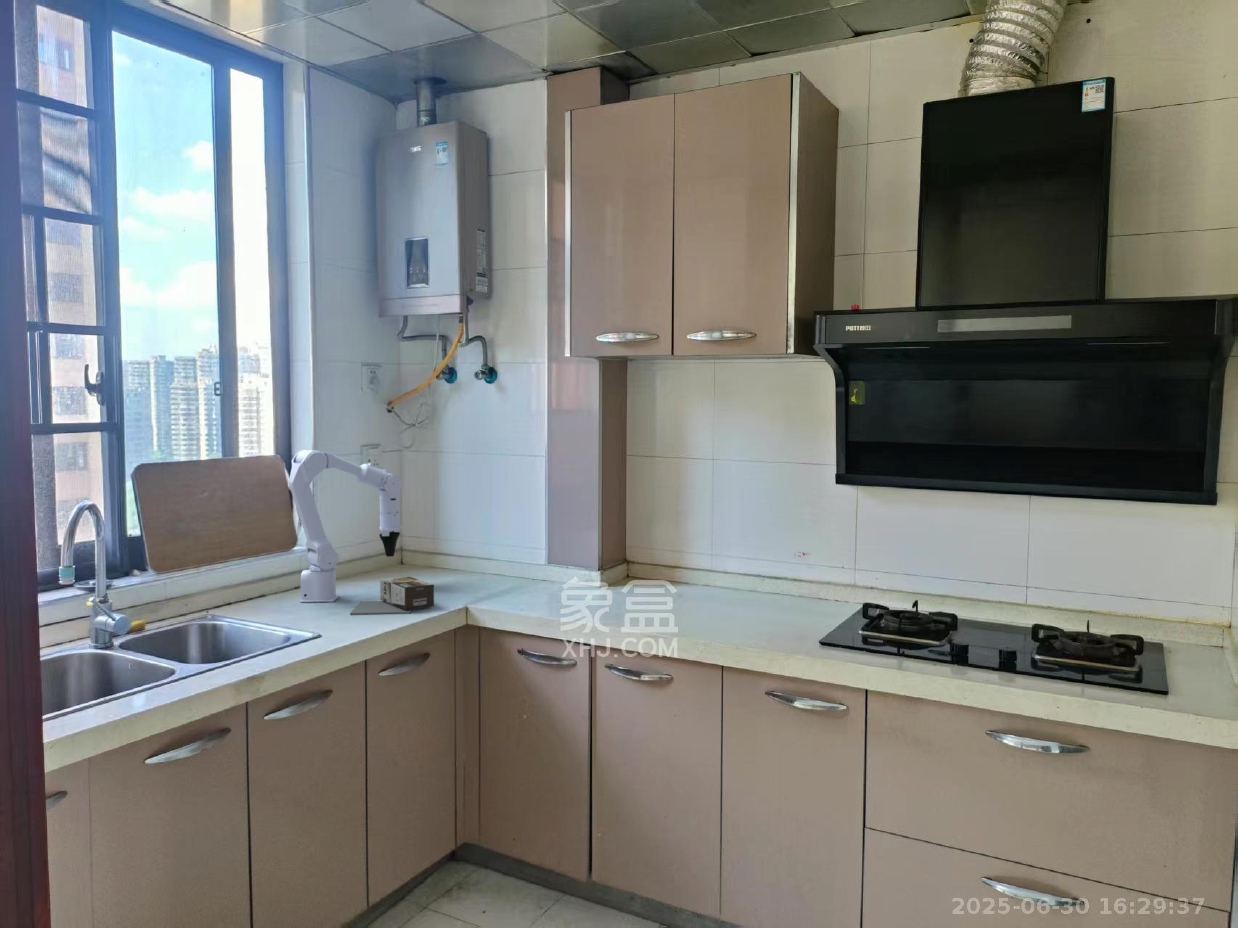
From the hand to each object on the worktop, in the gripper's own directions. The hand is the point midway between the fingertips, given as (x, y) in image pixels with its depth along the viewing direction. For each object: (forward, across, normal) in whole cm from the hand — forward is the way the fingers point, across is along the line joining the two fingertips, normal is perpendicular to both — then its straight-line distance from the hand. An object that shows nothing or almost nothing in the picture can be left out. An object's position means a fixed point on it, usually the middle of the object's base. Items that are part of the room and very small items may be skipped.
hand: (390, 556), depth 264 cm
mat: (+10, -25, -3) cm, 27 cm away
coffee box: (+7, -15, -4) cm, 17 cm away
